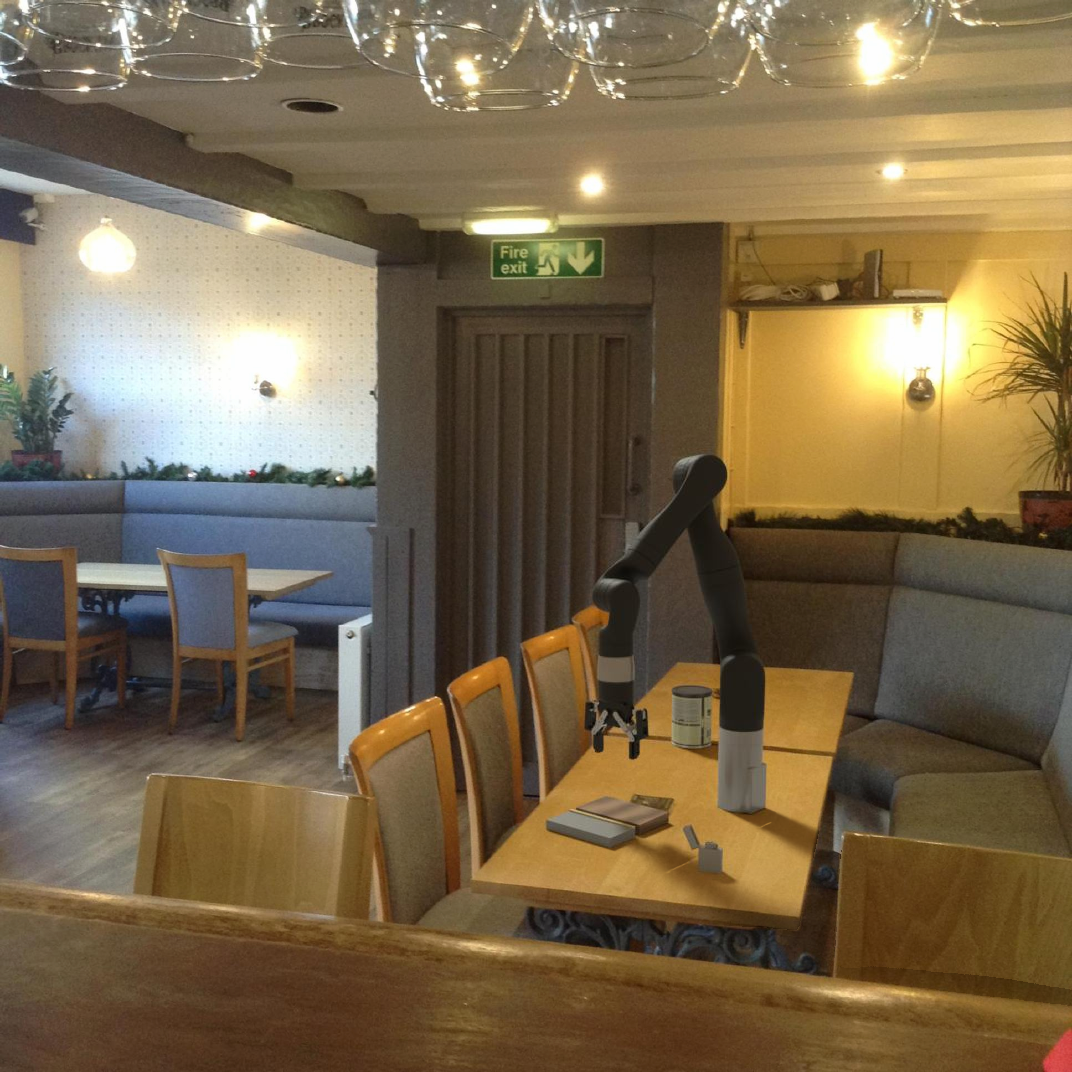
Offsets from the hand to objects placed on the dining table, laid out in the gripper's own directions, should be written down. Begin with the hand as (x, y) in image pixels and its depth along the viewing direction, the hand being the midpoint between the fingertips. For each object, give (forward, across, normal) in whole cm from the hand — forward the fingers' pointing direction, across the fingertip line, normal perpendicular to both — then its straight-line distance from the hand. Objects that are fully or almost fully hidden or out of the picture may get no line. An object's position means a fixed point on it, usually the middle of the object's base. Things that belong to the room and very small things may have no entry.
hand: (616, 755), depth 240 cm
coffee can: (+14, +20, -61) cm, 65 cm away
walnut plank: (+13, -1, 0) cm, 13 cm away
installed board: (+13, -1, +10) cm, 17 cm away
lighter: (+14, -28, +13) cm, 34 cm away
